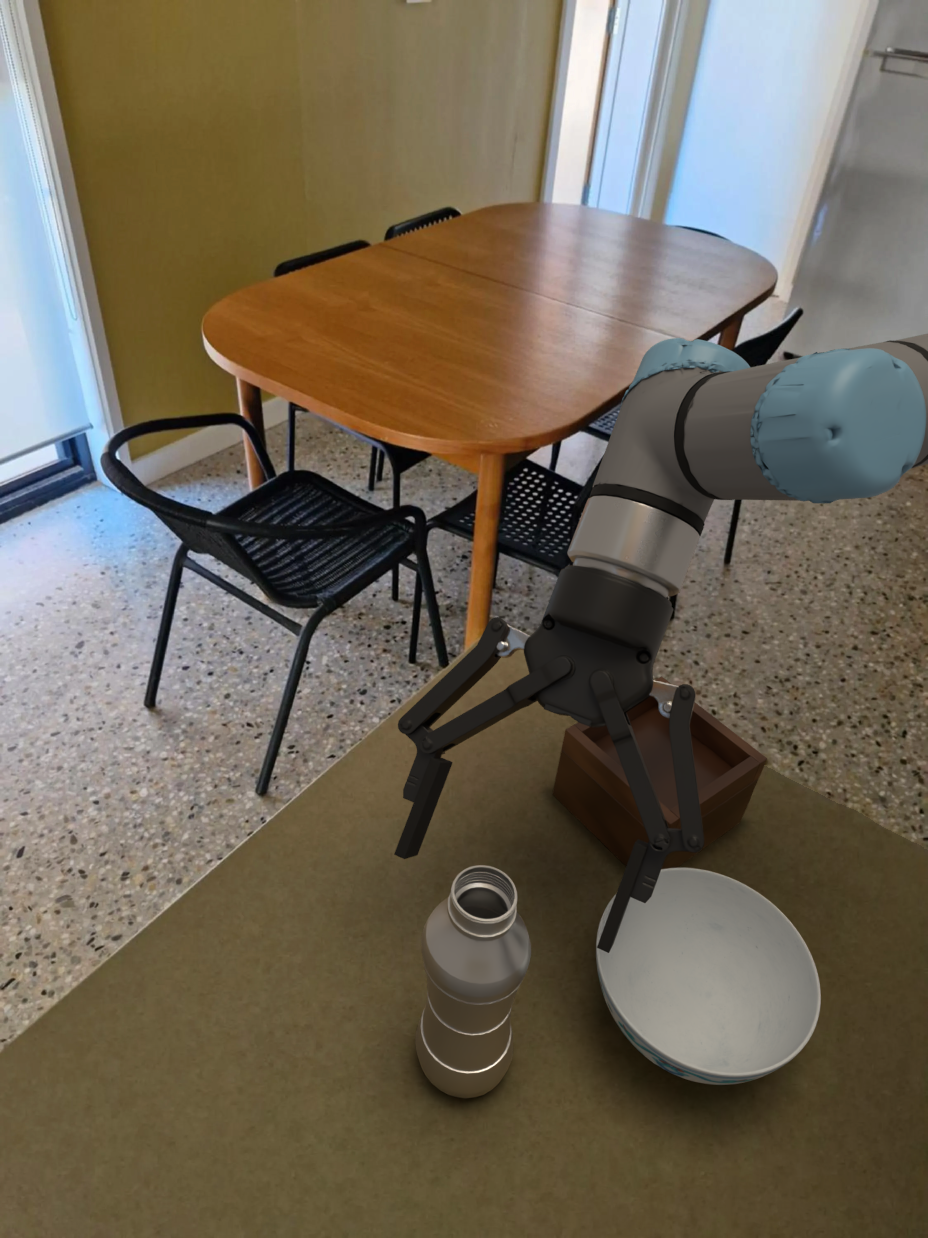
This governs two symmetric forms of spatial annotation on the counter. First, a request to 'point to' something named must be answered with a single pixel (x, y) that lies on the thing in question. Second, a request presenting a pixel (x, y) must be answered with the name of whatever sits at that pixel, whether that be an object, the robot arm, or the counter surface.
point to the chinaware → (710, 979)
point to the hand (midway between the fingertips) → (501, 899)
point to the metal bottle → (471, 983)
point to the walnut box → (655, 778)
